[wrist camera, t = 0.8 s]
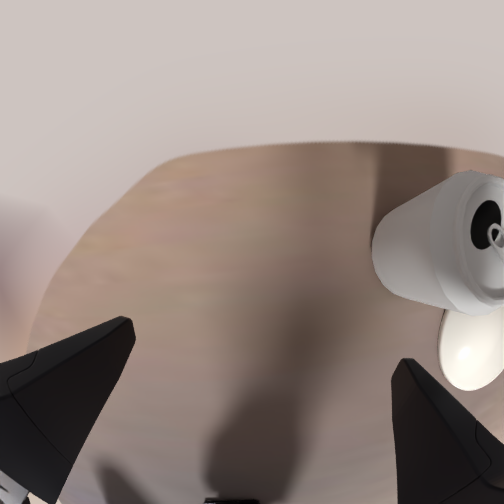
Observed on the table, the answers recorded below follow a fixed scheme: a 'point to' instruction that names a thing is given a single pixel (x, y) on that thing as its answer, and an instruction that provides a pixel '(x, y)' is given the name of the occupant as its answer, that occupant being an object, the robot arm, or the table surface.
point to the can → (446, 245)
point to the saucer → (471, 348)
